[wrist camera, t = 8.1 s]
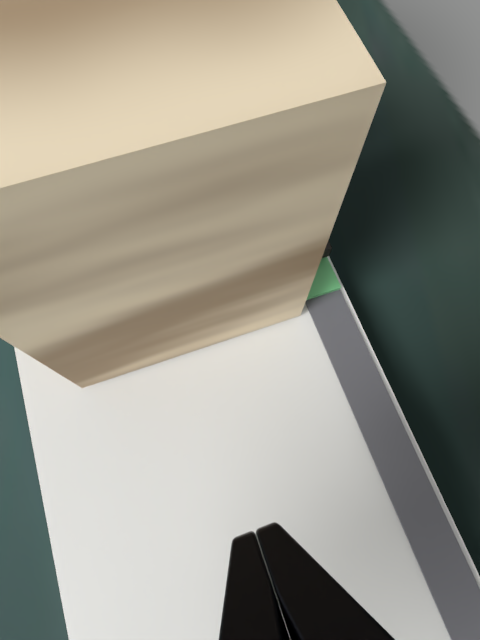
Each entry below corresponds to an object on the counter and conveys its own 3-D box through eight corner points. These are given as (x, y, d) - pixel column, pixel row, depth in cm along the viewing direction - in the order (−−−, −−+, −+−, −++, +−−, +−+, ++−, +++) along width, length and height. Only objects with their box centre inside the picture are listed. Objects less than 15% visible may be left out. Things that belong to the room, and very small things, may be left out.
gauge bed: (539, 734, 13) (571, 760, 12) (138, 928, 12) (127, 980, 10) (263, 136, 20) (265, 114, 19) (-2, 210, 19) (-18, 192, 18)
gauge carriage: (346, 300, 16) (490, 53, 7) (81, 388, 15) (-168, 234, 6) (304, 211, 18) (380, -97, 8) (58, 286, 17) (-178, 27, 7)
